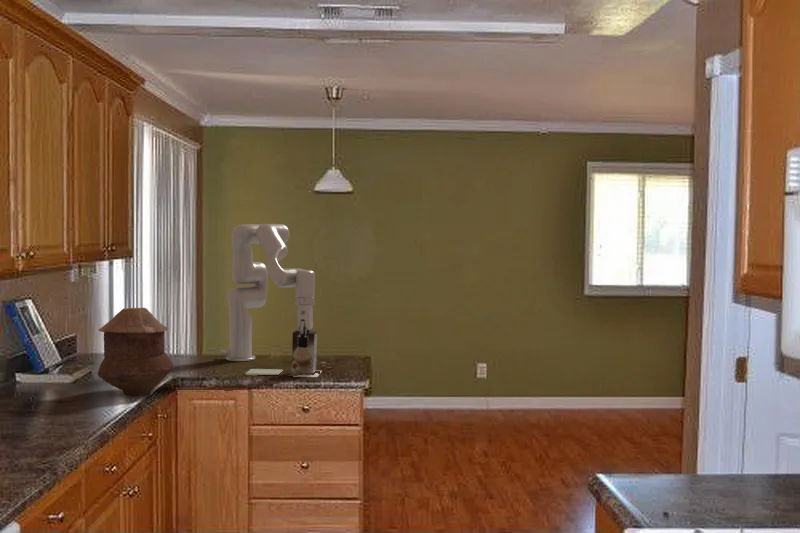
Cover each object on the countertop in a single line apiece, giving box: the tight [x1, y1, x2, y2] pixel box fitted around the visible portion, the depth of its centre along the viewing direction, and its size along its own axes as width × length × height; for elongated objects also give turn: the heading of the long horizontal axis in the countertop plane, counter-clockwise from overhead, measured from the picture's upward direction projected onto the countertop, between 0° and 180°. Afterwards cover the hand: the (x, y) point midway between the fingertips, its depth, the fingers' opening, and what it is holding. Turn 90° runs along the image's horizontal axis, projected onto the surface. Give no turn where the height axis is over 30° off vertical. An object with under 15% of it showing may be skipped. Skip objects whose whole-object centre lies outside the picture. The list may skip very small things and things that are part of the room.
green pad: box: [245, 368, 284, 376], centre depth 349 cm, size 13×10×1 cm
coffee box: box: [291, 330, 318, 373], centre depth 349 cm, size 9×6×16 cm
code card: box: [293, 370, 323, 378], centre depth 349 cm, size 12×14×1 cm
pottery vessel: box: [97, 307, 175, 396], centre depth 307 cm, size 26×26×30 cm
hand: (304, 345), depth 349 cm, fingers closed on coffee box, 6 cm apart
